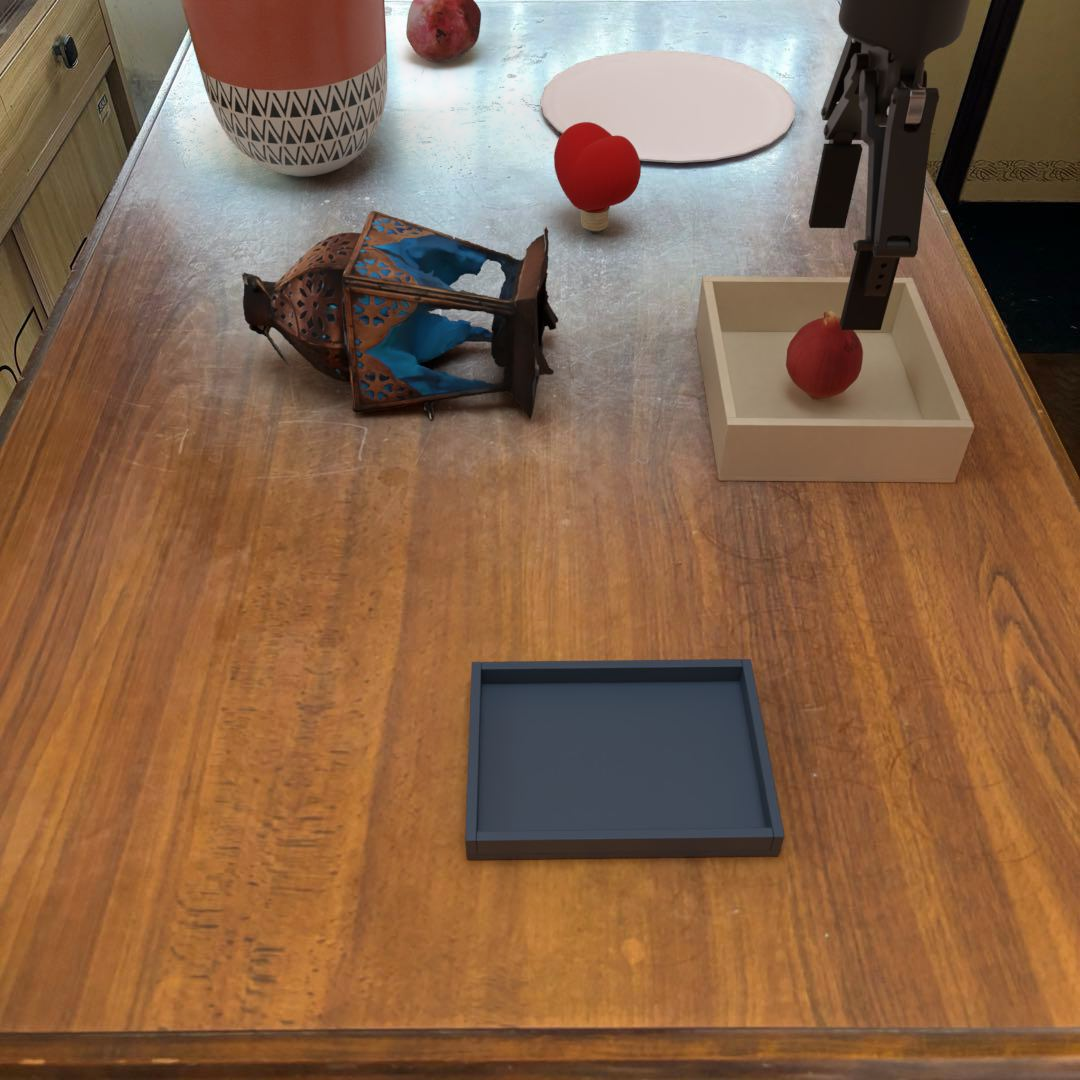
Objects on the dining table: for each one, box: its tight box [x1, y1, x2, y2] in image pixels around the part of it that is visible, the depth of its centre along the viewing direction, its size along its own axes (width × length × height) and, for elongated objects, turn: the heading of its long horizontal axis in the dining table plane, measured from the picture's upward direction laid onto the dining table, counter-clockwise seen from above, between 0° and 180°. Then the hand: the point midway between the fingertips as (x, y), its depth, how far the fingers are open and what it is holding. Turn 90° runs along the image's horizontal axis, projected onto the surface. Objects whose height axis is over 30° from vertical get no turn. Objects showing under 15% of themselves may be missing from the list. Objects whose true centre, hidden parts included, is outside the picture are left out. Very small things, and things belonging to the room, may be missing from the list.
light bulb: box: [553, 122, 642, 234], centre depth 104 cm, size 9×7×10 cm
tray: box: [464, 658, 786, 861], centre depth 64 cm, size 17×12×2 cm
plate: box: [539, 49, 796, 164], centre depth 127 cm, size 29×29×1 cm
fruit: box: [405, 0, 482, 63], centre depth 134 cm, size 9×10×10 cm
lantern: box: [241, 210, 559, 421], centre depth 87 cm, size 16×16×25 cm
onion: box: [786, 311, 863, 399], centre depth 86 cm, size 6×6×8 cm
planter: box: [180, 0, 388, 177], centre depth 110 cm, size 20×20×21 cm
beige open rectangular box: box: [695, 275, 975, 484], centre depth 87 cm, size 20×18×5 cm
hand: (842, 273), depth 81 cm, fingers open, 13 cm apart
